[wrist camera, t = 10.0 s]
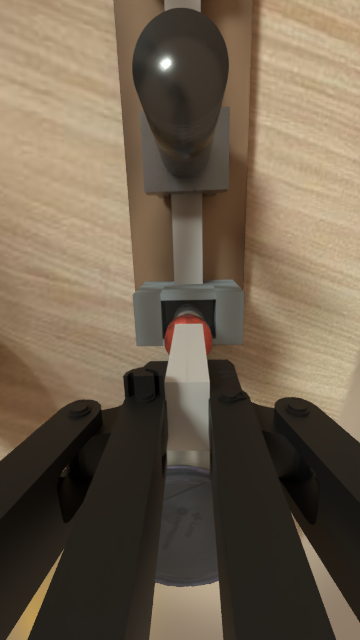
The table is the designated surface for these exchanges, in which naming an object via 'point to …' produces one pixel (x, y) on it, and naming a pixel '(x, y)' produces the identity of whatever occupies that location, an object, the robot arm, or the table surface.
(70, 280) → the table surface
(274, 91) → the table surface
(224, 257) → the rail base
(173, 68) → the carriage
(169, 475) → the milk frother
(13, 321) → the table surface
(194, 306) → the red ball knob
